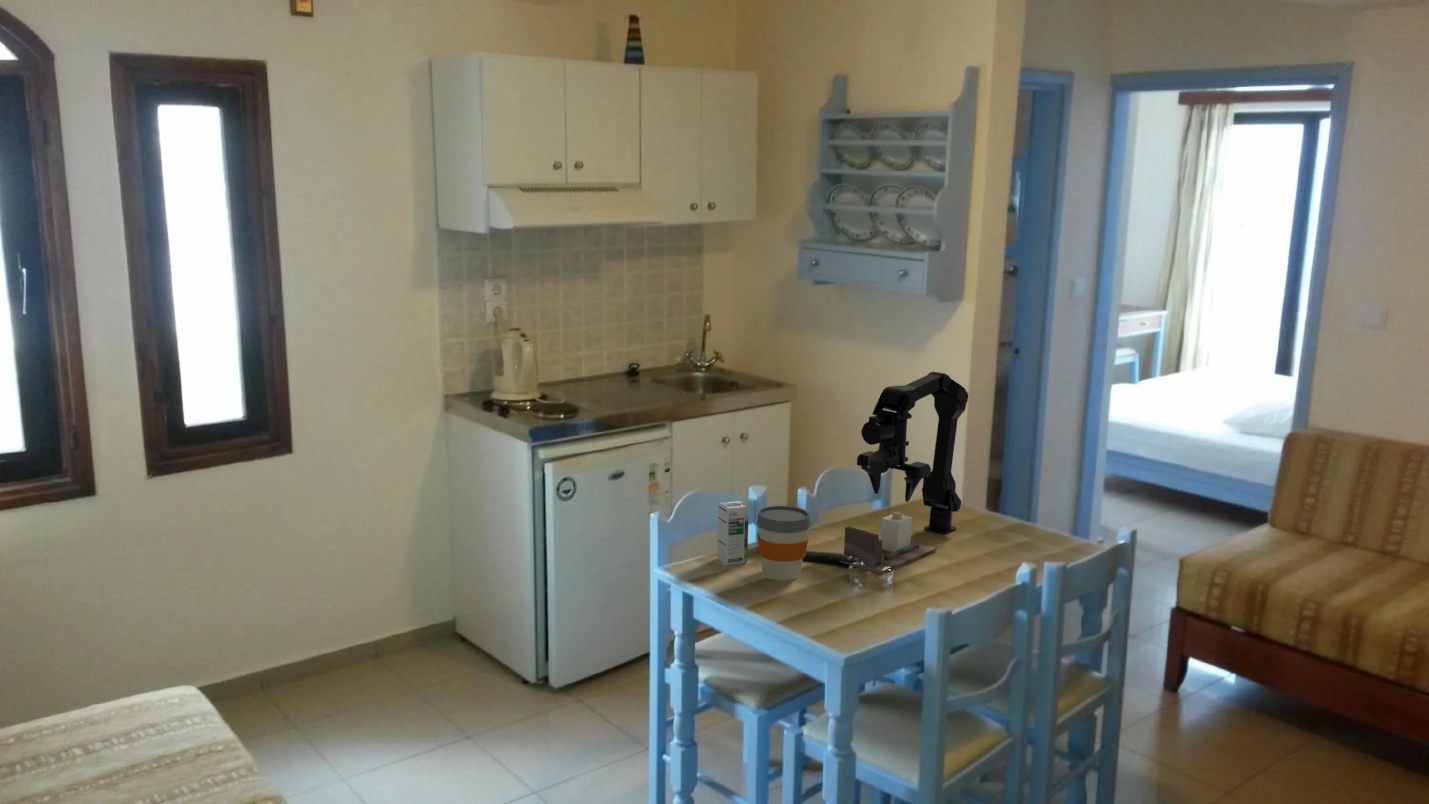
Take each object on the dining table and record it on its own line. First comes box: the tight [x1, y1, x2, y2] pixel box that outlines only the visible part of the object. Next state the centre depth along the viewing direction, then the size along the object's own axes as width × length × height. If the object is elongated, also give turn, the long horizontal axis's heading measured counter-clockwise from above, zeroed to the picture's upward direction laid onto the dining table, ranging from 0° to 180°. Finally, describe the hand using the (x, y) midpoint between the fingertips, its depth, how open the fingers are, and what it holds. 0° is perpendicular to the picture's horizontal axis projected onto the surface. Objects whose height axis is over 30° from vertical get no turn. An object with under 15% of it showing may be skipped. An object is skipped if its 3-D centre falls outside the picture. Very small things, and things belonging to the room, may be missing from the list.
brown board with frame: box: [834, 526, 937, 576], centre depth 272 cm, size 24×14×9 cm, turn 137°
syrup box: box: [716, 500, 749, 567], centre depth 264 cm, size 6×6×14 cm
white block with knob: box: [880, 511, 913, 552], centre depth 274 cm, size 6×5×9 cm
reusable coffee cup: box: [756, 505, 811, 582], centre depth 257 cm, size 13×13×15 cm
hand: (891, 497), depth 275 cm, fingers open, 9 cm apart
